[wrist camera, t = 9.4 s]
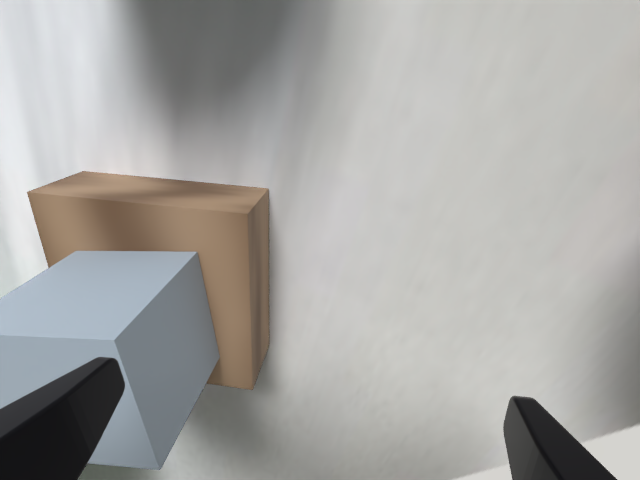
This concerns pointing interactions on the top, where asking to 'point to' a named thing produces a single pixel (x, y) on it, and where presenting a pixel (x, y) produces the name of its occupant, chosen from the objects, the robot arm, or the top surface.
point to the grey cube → (116, 341)
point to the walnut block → (176, 246)
